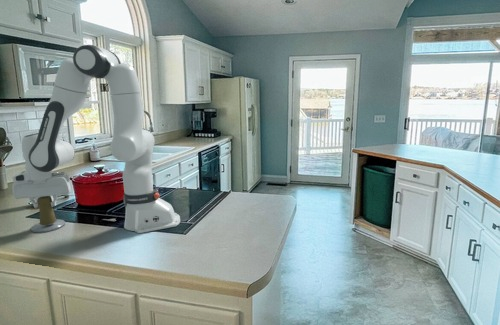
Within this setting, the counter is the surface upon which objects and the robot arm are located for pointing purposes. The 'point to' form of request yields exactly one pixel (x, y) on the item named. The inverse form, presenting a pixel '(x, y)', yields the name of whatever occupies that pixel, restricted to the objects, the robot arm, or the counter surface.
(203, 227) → the counter surface
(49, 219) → the cork
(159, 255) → the counter surface
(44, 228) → the coaster
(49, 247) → the counter surface
